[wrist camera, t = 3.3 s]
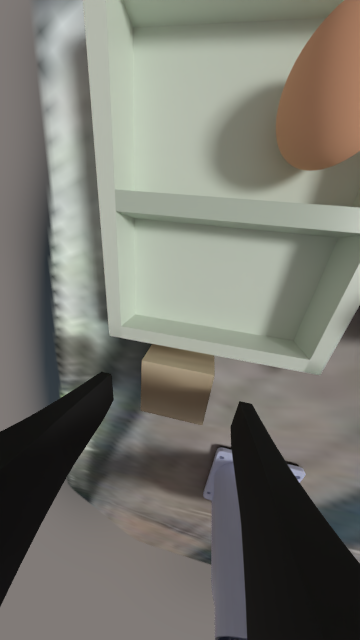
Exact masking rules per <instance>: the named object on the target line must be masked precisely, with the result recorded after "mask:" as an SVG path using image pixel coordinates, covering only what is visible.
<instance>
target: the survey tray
mask: <svg viewBox="0 0 360 640" xmlns="http://www.w3.org/2000/svg"><path fill="white" fill-rule="evenodd" d="M343 1H344V0H83V9H84V21H85V34H86V47H87V59H88V72H89V85H90V97H91V110H92V123H93V135H94V148H95V160H96V173H97V186H98V198H99V211H100V224H101V236H102V249H103V261H104V274H105V287H106V299H107V312H108V325H109V336H114V337H119V338H124V339H130V340H135V341H140V342H146V343H151V344H156V345H162V346H167V347H172V348H178V349H183V350H188V351H194V352H199V353H204V354H210V355H215V356H220V357H226V358H231V359H236V360H242V361H247V362H252V363H258V364H263V365H268V366H274V367H279V368H284V369H290V370H295V371H300V372H306V373H311V374H316V375H321V373H322V371H323V369H324V368H325V366H326V364H327V362H328V360H329V359H330V357H331V355H332V353H333V352H334V350H335V348H336V346H337V345H338V343H339V341H340V339H341V337H342V336H343V334H344V332H345V330H346V329H347V327H348V325H349V323H350V321H351V320H352V318H353V316H354V314H355V313H356V311H357V309H358V307H359V306H360V151H359V152H358V153H356V154H355V155H353V156H352V157H350V158H348V159H346V160H345V161H343V162H341V163H339V164H337V165H334V166H332V167H328V168H325V169H321V170H314V171H307V170H301V169H298V168H295V167H293V166H292V165H290V164H289V163H288V162H287V161H286V160H285V159H284V158H283V156H282V154H281V152H280V150H279V148H278V144H277V138H276V116H277V111H278V106H279V101H280V98H281V94H282V91H283V88H284V86H285V83H286V81H287V78H288V76H289V74H290V72H291V69H292V67H293V65H294V63H295V61H296V60H297V58H298V56H299V54H300V53H301V51H302V49H303V48H304V46H305V45H306V43H307V42H308V40H309V39H310V38H311V36H312V35H313V33H314V32H315V31H316V29H317V28H318V27H319V26H320V25H321V23H322V22H323V21H324V20H325V19H326V18H327V17H328V15H329V14H330V13H331V12H332V11H333V10H334V9H335V8H336V7H337V6H338V5H339V4H341V3H342V2H343Z"/></svg>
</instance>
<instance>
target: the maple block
mask: <svg viewBox="0 0 360 640" xmlns="http://www.w3.org/2000/svg"><path fill="white" fill-rule="evenodd" d="M214 375H215V374H214V355H210V354H204V353H199V352H194V351H188V350H183V349H178V348H172V347H167V346H162V345H156V344H152V345H151V346H150V348H149V350H148V351H147V353H146V354H145V356H144V358H143V359H142V370H141V411H144V412H148V413H153V414H157V415H161V416H165V417H169V418H173V419H178V420H182V421H186V422H190V423H194V424H198V425H203V421H204V417H205V412H206V408H207V404H208V400H209V396H210V392H211V388H212V384H213V380H214Z"/></svg>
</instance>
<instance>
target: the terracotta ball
mask: <svg viewBox="0 0 360 640" xmlns="http://www.w3.org/2000/svg"><path fill="white" fill-rule="evenodd" d="M276 138H277V144H278V148H279V150H280V152H281V154H282V156H283V158H284V159H285V160H286V161H287V162H288V163H289V164H290V165H292V166H293V167H295V168H298V169H301V170H307V171H314V170H321V169H325V168H328V167H332V166H334V165H337V164H339V163H341V162H343V161H345V160H346V159H348V158H350V157H352V156H353V155H355V154H356V153H358V152H359V151H360V0H344V1H343V2H342V3H341V4H339V5H338V6H337V7H336V8H335V9H334V10H333V11H332V12H331V13H330V14H329V15H328V17H327V18H326V19H325V20H324V21H323V22H322V23H321V25H320V26H319V27H318V28H317V29H316V31H315V32H314V33H313V35H312V36H311V38H310V39H309V40H308V42H307V43H306V45H305V46H304V48H303V49H302V51H301V53H300V54H299V56H298V58H297V60H296V61H295V63H294V65H293V67H292V69H291V72H290V74H289V76H288V78H287V81H286V83H285V86H284V88H283V91H282V94H281V98H280V101H279V106H278V111H277V116H276Z"/></svg>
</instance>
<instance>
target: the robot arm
mask: <svg viewBox="0 0 360 640" xmlns="http://www.w3.org/2000/svg"><path fill="white" fill-rule="evenodd" d="M113 400H114V399H113V387H112V376H111V374H109V373H104V372H101V373H99V374H97V375H96V376H94V377H93V378H91V379H90V380H88V381H87V382H85V383H84V384H82V385H81V386H79V387H78V388H76V389H74V390H73V391H71V392H70V393H68V394H67V395H65V396H63V397H62V398H60V399H59V400H57V401H55V402H53V403H52V404H50V405H48V406H47V407H45V408H43V409H42V410H40V411H38V412H37V413H35V414H33V415H31V416H30V417H28V418H26V419H24V420H22V421H20V422H18V423H16V424H15V425H13V426H11V427H9V428H7V429H5V430H3V431H1V432H0V606H1V604H2V602H3V600H4V598H5V596H6V594H7V591H8V589H9V587H10V585H11V583H12V581H13V579H14V577H15V575H16V573H17V571H18V568H19V567H20V564H21V563H22V561H23V559H24V557H25V555H26V553H27V551H28V549H29V547H30V545H31V543H32V541H33V539H34V537H35V535H36V533H37V531H38V529H39V527H40V525H41V523H42V521H43V519H44V518H45V516H46V514H47V512H48V510H49V508H50V506H51V505H52V503H53V501H54V499H55V497H56V495H57V493H58V492H59V490H60V488H61V486H62V484H63V483H64V481H65V479H66V477H67V475H68V474H69V472H70V470H71V469H72V467H73V465H74V464H75V462H76V461H77V459H78V457H79V456H80V454H81V453H82V451H83V450H84V448H85V447H86V445H87V444H88V442H89V441H90V439H91V438H92V436H93V435H94V433H95V431H96V430H97V428H98V427H99V425H100V424H101V422H102V421H103V419H104V417H105V415H106V414H107V412H108V410H109V408H110V406H111V404H112V402H113ZM231 449H232V450H231ZM231 449H227V448H222V447H220V448H218V449H217V451H216V454H215V457H214V461H213V464H212V467H211V470H210V473H209V476H208V479H207V483H206V486H205V489H204V492H203V496H204V498H206V499H208V500H212V567H211V568H212V569H211V575H212V576H211V577H212V578H211V579H212V580H211V581H212V593H213V600H214V605H215V640H360V563H359V562H358V561H357V560H356V558H355V557H354V556H353V555H352V553H351V552H350V551H349V550H348V548H347V547H346V546H345V545H344V543H343V542H342V541H341V539H340V538H339V537H338V535H337V534H336V533H335V531H334V530H333V529H332V527H331V526H330V525H329V523H328V522H327V521H326V519H325V518H324V517H323V515H322V514H321V513H320V511H319V510H318V508H317V507H316V506H315V504H314V503H313V501H312V500H311V499H310V497H309V496H308V494H307V493H306V491H305V490H304V489H303V487H302V486H301V484H300V482H301V480H302V479H303V478H304V476H305V472H304V470H303V468H301V467H298V466H294V465H290V464H287V463H286V461H285V460H284V458H283V457H282V455H281V453H280V452H279V450H278V449H277V447H276V445H275V444H274V442H273V440H272V439H271V437H270V435H269V434H268V432H267V430H266V428H265V427H264V425H263V423H262V421H261V420H260V418H259V416H258V414H257V412H256V411H255V409H254V407H253V405H252V404H249V403H245V402H240V401H239V404H238V407H237V410H236V413H235V416H234V419H233V422H232V425H231Z"/></svg>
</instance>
